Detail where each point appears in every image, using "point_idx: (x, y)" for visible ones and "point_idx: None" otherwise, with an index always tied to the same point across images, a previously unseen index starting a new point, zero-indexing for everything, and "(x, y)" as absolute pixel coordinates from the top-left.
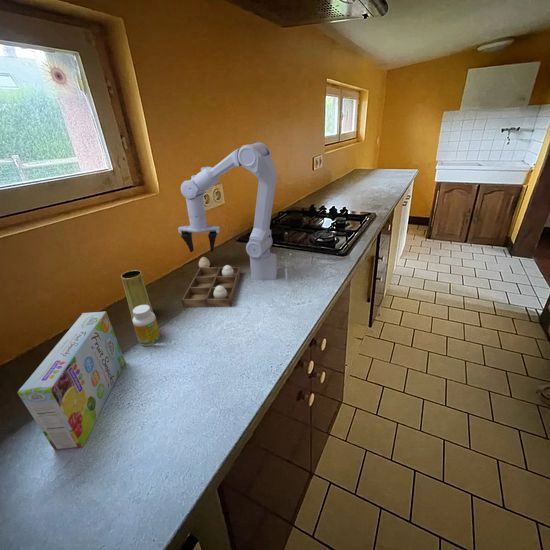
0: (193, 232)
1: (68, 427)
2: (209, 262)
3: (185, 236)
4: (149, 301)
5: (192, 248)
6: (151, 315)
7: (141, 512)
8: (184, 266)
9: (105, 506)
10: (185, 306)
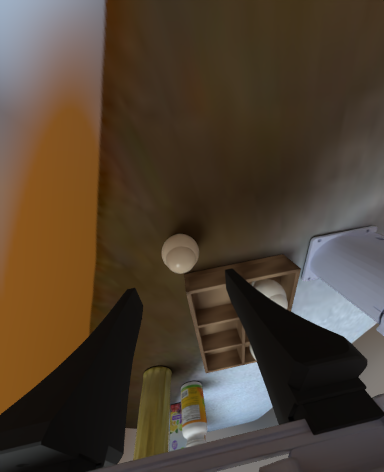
0: (138, 466)
1: None
2: (198, 250)
3: (108, 463)
4: (167, 401)
5: (136, 308)
6: (204, 433)
7: (244, 420)
8: (101, 236)
9: (229, 423)
10: (207, 357)
